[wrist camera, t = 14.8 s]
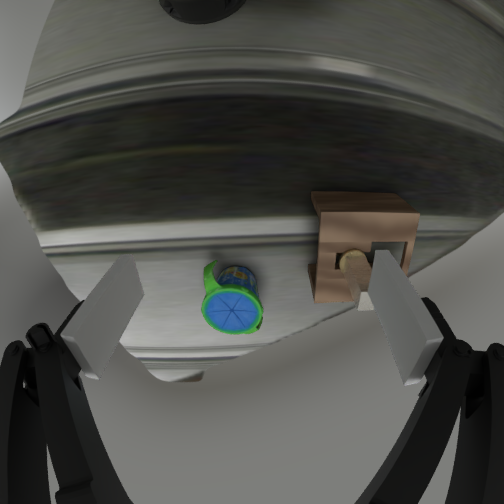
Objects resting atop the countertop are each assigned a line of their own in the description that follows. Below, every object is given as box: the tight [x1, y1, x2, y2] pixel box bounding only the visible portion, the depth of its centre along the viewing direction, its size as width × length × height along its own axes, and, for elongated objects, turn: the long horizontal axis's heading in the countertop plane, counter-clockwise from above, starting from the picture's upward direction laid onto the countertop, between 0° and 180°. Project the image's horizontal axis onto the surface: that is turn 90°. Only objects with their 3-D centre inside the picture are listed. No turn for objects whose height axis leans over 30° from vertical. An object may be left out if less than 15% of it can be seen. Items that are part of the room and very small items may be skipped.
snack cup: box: [201, 260, 263, 334], centre depth 53 cm, size 16×10×10 cm
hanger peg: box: [336, 248, 375, 311], centre depth 41 cm, size 5×5×17 cm
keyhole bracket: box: [308, 191, 420, 303], centre depth 46 cm, size 16×16×10 cm
